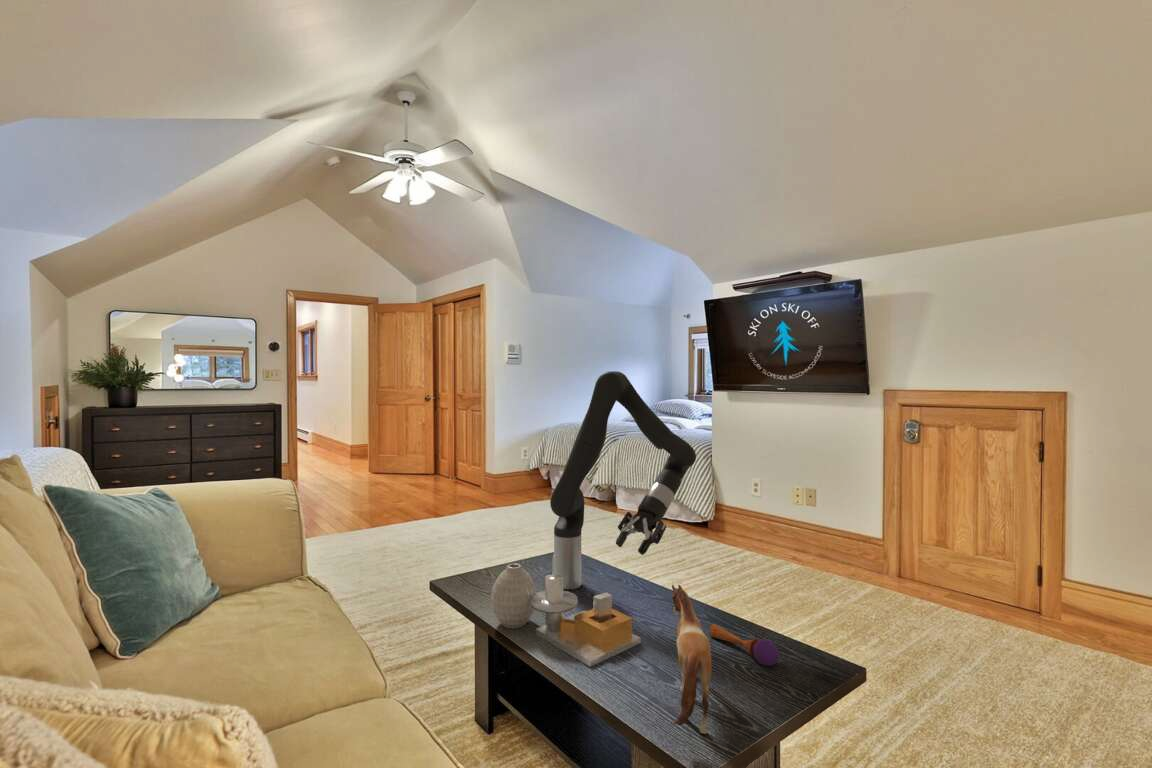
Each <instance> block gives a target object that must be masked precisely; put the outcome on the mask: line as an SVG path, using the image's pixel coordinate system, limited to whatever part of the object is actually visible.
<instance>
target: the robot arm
mask: <svg viewBox="0 0 1152 768" xmlns="http://www.w3.org/2000/svg"><path fill="white" fill-rule="evenodd" d="M590 399H591V400H590V401H589V406H588V408H587V410H586V413H585V416H584V418H583V421H582V423H581V426H580V428H579V431H578V432H577V433H576V437H575V440H574V443H573V444H572V448H571V451H570V453H569V456H568V459H567V462H566V464H565V467H564V470H563V472H562V474H561V476H560V477H559V478H560V479H559V480H558V482H557V484H556V485H555V487H554V490H553V492H552V494H551V496H550V500H549V503H550V509H551V511H552V513H553V514H554V515H556V516H557V517H558V520H557V521H556V523H555V524H554V527H553V555H552V561H551V562H552V565H551V566H552V567H551V568H552V570H551V571H552V572H551V574H558V575H561V576H563V590H564V589H565V590H564V591H568V590H569V589H571V590H576V589H579V588H580V587H581V586H582V531H583V526H584V523H585V522H584V520H585V496H584V492H583V491H582V490H581V486H582V484H583V481H584V480H585V478H587V475H588V474H589V473H590V471H592V469H593V468H594V466H595V465H596V462H597V461H598V459H599V457H600V455H601V454H602V450H603V447H604V445H605V442H606V438H607V431H608V422H609V418H610V417H609V416H610V414H611V412H612V410H613V409H614V406H615V403H616V402H617V403H619V404H620V405H621V406H622V407H624V409H625V410H626V411H627V413H629V414H630V416H631V418H633V421H634V422H635V424H636V426H637V427H638V428H639V430H640V431H641V434H643V435H644V436H645V438H646V439H647V440H648V441H649V442H650V443H651V444H652V446H654V448H656V449H657V450H664V451H666V452H667V453H668V454H669V456H668V457H667V459H666V461H665V463H664V465H663V467H662V469H661V471H660V472H659V474H658V475H657V477H656V479H655V480H654V482H653V484H652V485H651V486H650V487H649V489H648V490H647V492H646V494H644V497H643V499H642V501H641V502H640V504H639V505H638V507H637V512H636V513H635V514H631V512H630V511H627V512H626V513H625V515H624V517H623V518H622V520H621V521H620V522H619V524H618V525H617V529H618V530H619V533H620V534H618V536H617V538H616V540H615V545H616V546H618V548H622V547H623V546H624V543H625V542H626V540H627V538H628V536H630V535H632V534H635V533H642V534H644V537H645V539H644V538H643V540H642V542H641V544H640V545H639V547H638V549H637V552H638V553H639V554H640V555H641V556H644V555H645V554H646V553H647V551H648V550H649V548H650V546H651V545H653V544H656V545H658V544H659V543H660V541H661V539H662V537H663V535H664V534H665V532H666V530H667V525H666V524H665V523H664V522H663V519H664V517H665V515H666V513H667V511H668V509H669V508H670V506H671V505H672V502H673V499H674V497H675V495H676V494H677V492H678V490H679V488H680V486H681V484H682V480H683V478H684V476H685V474H686V473H687V471H688V470H689V469H690V468H691V467H692V466H693V465H694V464H695V463H696V461H697V454H696V451H695V449H694V447H693V446H691V444H689V443H688V442H687V441H686V440H685V439H683V438H681V436H679V435H677V434H676V433H674V432H673V431H672V430H671V429H670V428H669V427H668V426H667V425H666V424H665V423H664V422H663V421H662V420H661V418H660V417H659V416H658V415H657V414H656V413H655V412H654V411H653V409H651V408H650V407H649V405H648V404H647V403H646V402H645V400H644V399H643V398H642V397H641V396H640V394H639V393H638V392H637V390H636V389H635V387H634V386H633V384H632V383H631V381H630V380H629V379H628V377H627V376H626V374H624V373H622V372H620V371H615V370H614V371H605V372H603V373H601V374H600V375H599V376H598V378H597V379H596V381H595V384H594V388H593V391H592V395H591V398H590ZM566 589H567V590H566Z"/></svg>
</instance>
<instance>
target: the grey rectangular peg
mask: <svg viewBox="0 0 1152 768" xmlns="http://www.w3.org/2000/svg"><path fill="white" fill-rule="evenodd" d="M592 599H593V603H592V604H593V605H592V606H593V608H592V609H593V620H594V621H596V622H598V623H603V622H605V621H607V620H610V619H612V609H613V595H612V594H610V593H608V592H603V593H600V594H596V595H593V597H592Z"/></svg>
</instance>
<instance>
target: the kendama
mask: <svg viewBox="0 0 1152 768" xmlns="http://www.w3.org/2000/svg"><path fill="white" fill-rule="evenodd" d="M708 632H709V636H710V637H711V638H715V639H718V640H722V641H726V642H730V643H734V644H737V645H741V646H743V647H744V648H745V649H746V651H747V652H748V653H749V654H750V655H751V657H754V658H755V660H756V661H757V662H758V663H759V664H760V665H762V664H763V665H762V666H764V665H765V666H764V667H772V666H774V665H775V664H776V663H777V662H778V661H779V659H780V652H779V651H780V650H779V648H778V646H777V645H776V644H775V642H773V641H772V640H771V639H767V638H761V639H757V638H754V639H747V640H743V639H742V638H740V637H739V636H736V634H733V633H731V632H729V631H727V630H726V629H724V628H722V627H720V626H719V625H717V624H711V625H710V627H709V631H708Z"/></svg>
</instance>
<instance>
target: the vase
mask: <svg viewBox="0 0 1152 768" xmlns="http://www.w3.org/2000/svg"><path fill="white" fill-rule="evenodd" d="M536 593H537V587H536V585H535V582H534V580H533V578H532V576H530V574H529V573H528V572H527V571H526V570H525V569H523V568H522V565H521V564H519V563H509V564H508V565H507V566H506V568H505V569H504V570H503V571H502V572H501V573H500V574H499V575H498V577H497V578H496V579H495V581H494V584H493V586H492V590H491V596H490V600H491V602H490V603H491V609H492V612H493V613H494V617H495V618H496V619H497V621H498V622H499V623H500V624H501V625H502V626H503V627H504V628H506V629H510V628H512V630H514V628H515V629H520V628H522V627H523V626H525V625H526V624H527V623H528V622H529V621H530V620H531V618H532V616H533V615H534V612H535V609H534V608H532V607H531V605H530V599H531V597H532V596H533V595H534V594H536Z"/></svg>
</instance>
